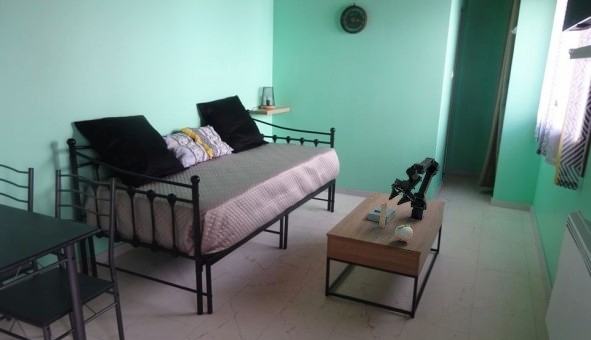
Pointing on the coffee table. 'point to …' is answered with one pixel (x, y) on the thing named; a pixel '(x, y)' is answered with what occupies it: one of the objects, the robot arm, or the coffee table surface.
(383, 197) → the coffee table surface
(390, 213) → the hole block
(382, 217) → the pin
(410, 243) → the coffee table surface
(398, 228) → the decorative fruit
